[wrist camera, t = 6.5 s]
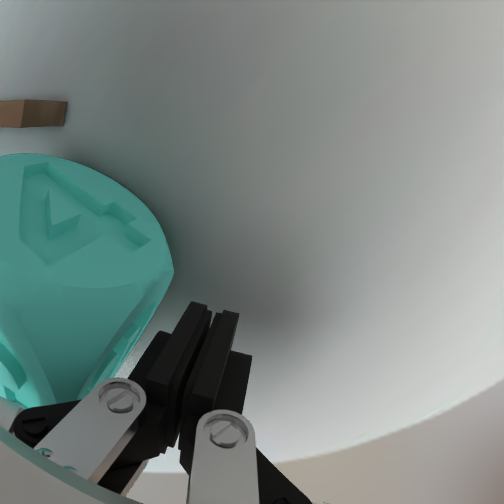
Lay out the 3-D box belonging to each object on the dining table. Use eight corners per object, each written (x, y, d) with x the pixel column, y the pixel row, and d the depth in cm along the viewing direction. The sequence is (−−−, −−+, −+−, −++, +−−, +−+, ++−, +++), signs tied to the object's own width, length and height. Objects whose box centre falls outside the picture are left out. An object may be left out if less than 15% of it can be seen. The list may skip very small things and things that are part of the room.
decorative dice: (68, 145, 12) (-75, 168, 4) (199, 237, 12) (85, 354, 5) (32, 269, 15) (-64, 332, 7) (133, 352, 15) (57, 459, 8)
